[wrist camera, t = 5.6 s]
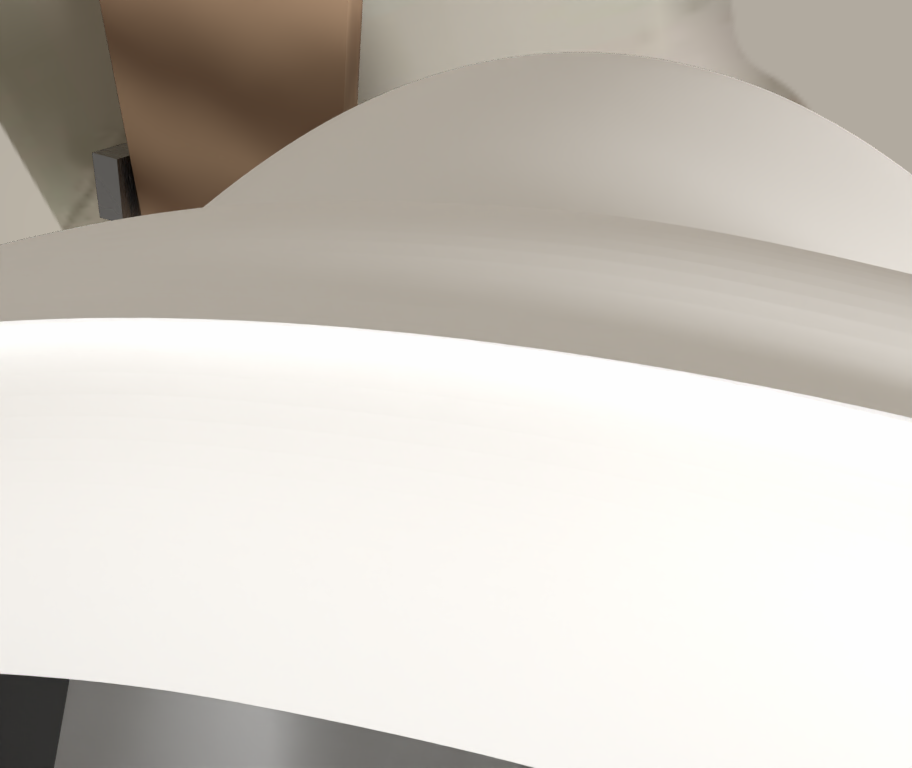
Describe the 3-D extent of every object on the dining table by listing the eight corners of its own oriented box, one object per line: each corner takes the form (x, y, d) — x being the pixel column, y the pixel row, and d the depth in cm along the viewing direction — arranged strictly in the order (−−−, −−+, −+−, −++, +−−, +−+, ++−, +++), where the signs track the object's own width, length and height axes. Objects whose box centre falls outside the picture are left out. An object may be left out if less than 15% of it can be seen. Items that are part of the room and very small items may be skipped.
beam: (88, -213, 21) (-5, -224, 18) (370, -150, 20) (320, -150, 17) (192, 388, 40) (154, 431, 37) (340, 433, 39) (314, 481, 36)
